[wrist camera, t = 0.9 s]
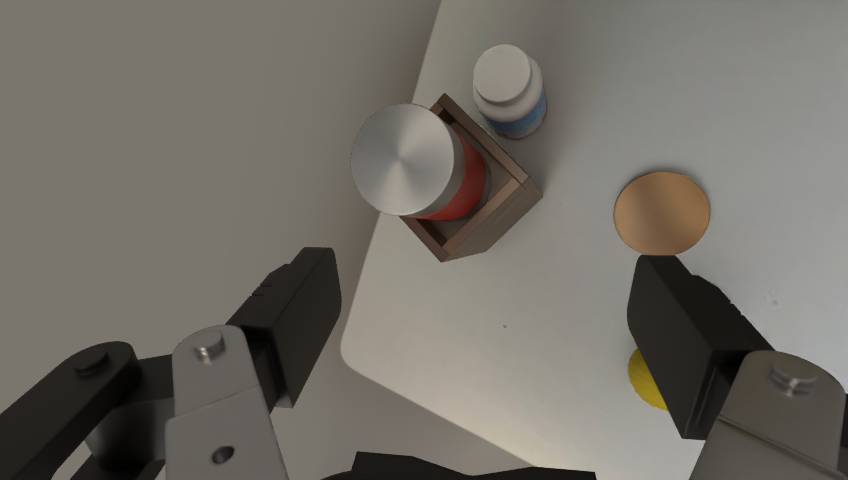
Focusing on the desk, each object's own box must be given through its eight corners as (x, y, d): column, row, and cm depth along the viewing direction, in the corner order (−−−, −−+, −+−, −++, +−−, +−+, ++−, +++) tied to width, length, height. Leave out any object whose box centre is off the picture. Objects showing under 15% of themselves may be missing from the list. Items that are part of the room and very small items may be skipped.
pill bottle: (558, 119, 43) (555, 82, 32) (505, 151, 45) (486, 126, 34) (529, 70, 44) (517, 18, 33) (478, 103, 46) (451, 64, 35)
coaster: (661, 154, 40) (662, 153, 40) (729, 214, 38) (731, 214, 38) (595, 214, 42) (595, 213, 42) (657, 273, 40) (658, 274, 40)
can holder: (487, 141, 45) (444, 92, 29) (543, 196, 44) (530, 176, 28) (433, 197, 47) (365, 179, 31) (485, 252, 46) (441, 263, 30)
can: (454, 127, 32) (401, 78, 22) (508, 181, 31) (479, 156, 21) (402, 183, 34) (329, 162, 23) (452, 237, 32) (398, 240, 22)
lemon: (612, 368, 42) (622, 398, 34) (642, 321, 41) (659, 342, 33) (667, 401, 40) (690, 440, 33) (700, 353, 39) (731, 382, 32)
